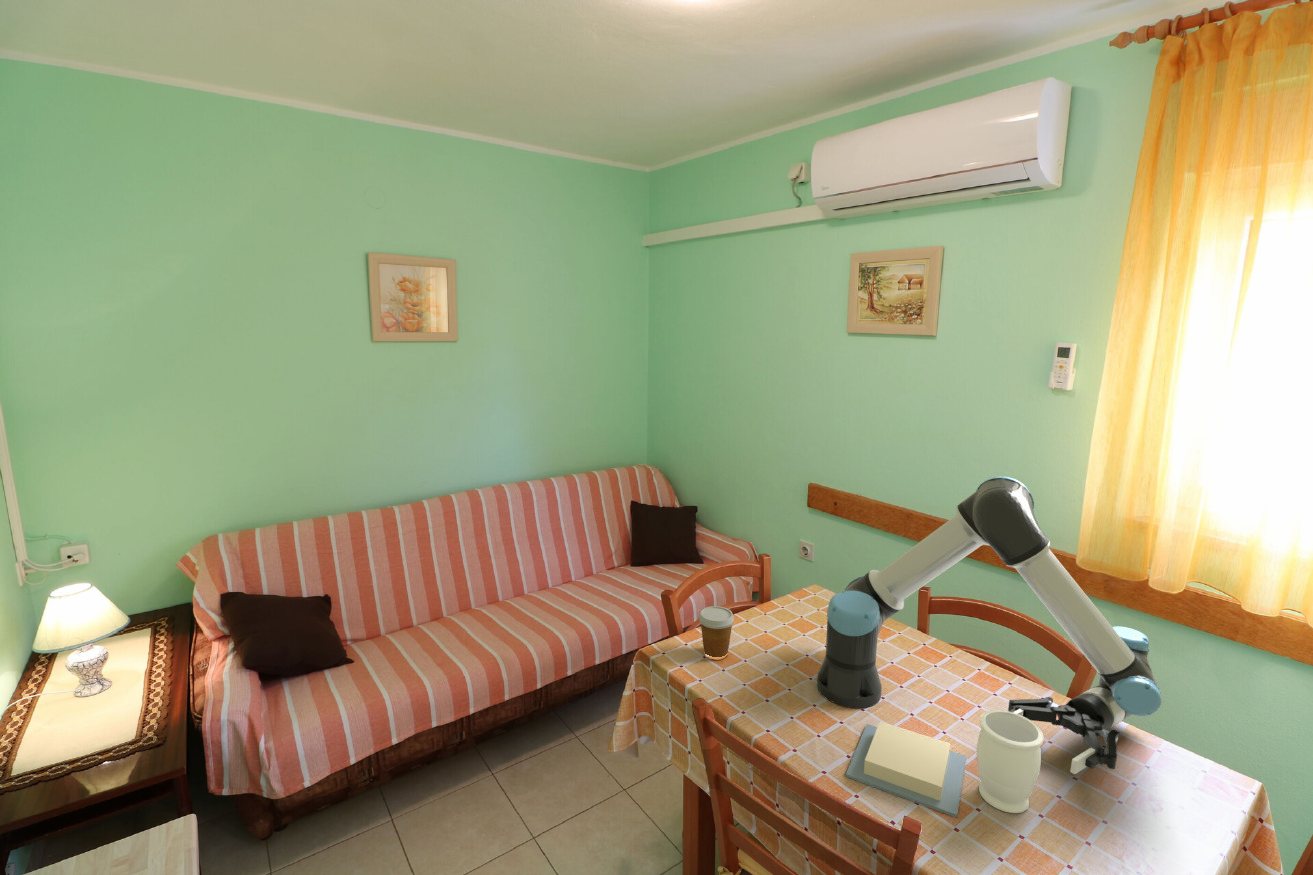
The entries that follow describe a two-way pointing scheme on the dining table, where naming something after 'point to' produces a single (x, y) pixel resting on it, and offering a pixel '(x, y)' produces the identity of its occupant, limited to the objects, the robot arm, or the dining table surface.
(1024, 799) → the jar
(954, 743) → the dining table surface
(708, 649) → the disposable coffee cup
